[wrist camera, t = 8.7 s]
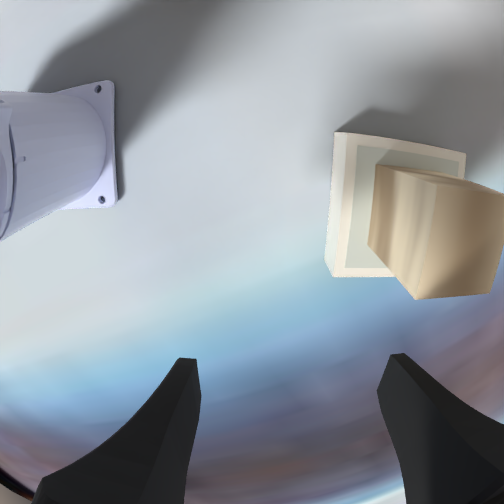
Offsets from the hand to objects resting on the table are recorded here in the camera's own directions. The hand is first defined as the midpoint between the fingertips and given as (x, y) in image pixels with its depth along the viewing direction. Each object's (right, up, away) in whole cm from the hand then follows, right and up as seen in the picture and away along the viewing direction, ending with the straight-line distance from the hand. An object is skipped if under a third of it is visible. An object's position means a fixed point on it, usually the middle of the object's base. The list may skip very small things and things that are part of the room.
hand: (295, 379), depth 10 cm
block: (+7, +7, +5) cm, 11 cm away
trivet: (+7, +8, +8) cm, 13 cm away
